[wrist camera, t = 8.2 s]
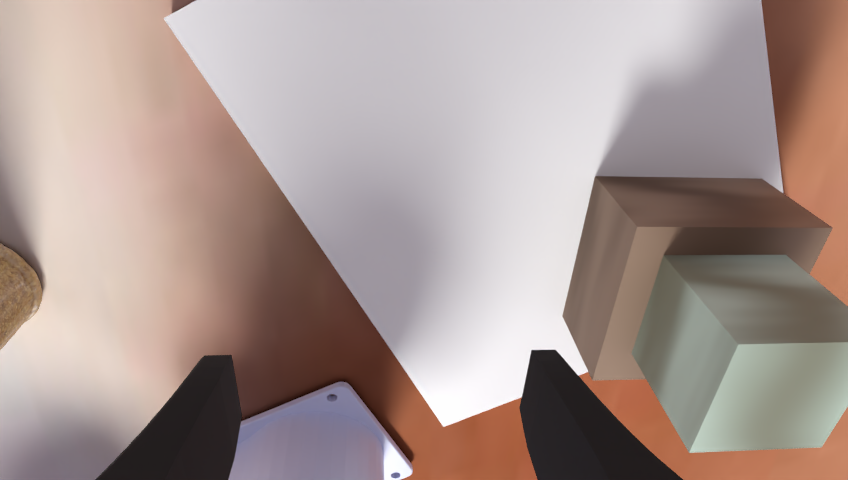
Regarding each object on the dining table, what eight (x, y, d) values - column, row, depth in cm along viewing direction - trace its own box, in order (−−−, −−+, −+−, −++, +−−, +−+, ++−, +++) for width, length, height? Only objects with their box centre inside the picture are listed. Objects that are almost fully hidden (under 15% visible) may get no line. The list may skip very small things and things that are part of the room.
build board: (441, 414, 29) (443, 426, 28) (171, 14, 18) (163, 18, 17) (783, 282, 26) (794, 293, 26) (711, -287, 15) (727, -296, 15)
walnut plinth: (562, 316, 25) (592, 380, 22) (594, 175, 22) (637, 226, 18) (706, 314, 26) (757, 376, 22) (761, 178, 22) (832, 228, 19)
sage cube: (631, 353, 21) (689, 452, 17) (663, 255, 19) (738, 344, 15) (741, 350, 22) (821, 447, 18) (785, 254, 19) (889, 341, 15)
